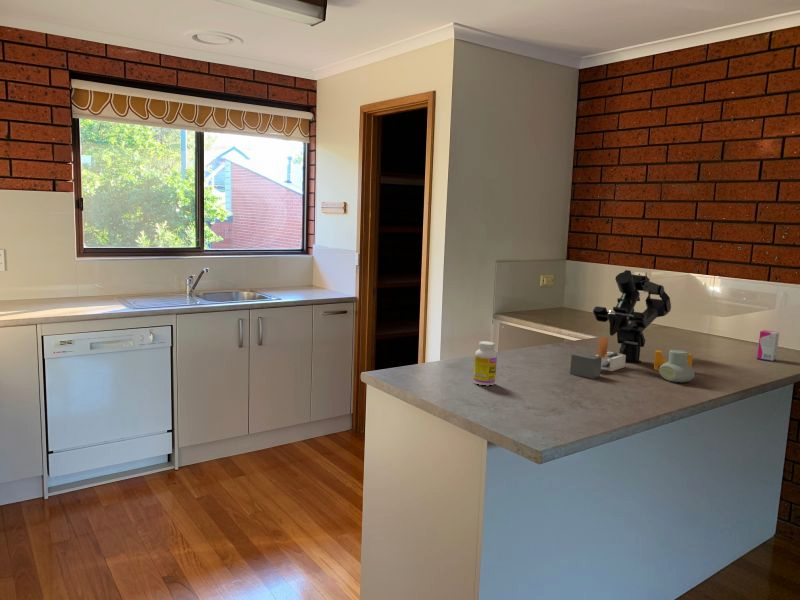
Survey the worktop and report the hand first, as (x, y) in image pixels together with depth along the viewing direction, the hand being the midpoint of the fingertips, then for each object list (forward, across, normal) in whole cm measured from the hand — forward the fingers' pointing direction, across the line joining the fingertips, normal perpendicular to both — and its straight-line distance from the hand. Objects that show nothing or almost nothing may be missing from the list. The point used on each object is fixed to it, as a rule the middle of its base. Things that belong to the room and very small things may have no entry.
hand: (611, 334), depth 222 cm
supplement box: (-41, -34, -58) cm, 79 cm away
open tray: (+7, 0, -9) cm, 12 cm away
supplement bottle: (+48, +14, +30) cm, 58 cm away
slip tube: (+10, 0, -5) cm, 11 cm away
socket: (+21, 0, +4) cm, 21 cm away
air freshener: (+7, -23, -10) cm, 26 cm away
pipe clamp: (-3, -17, -20) cm, 26 cm away
